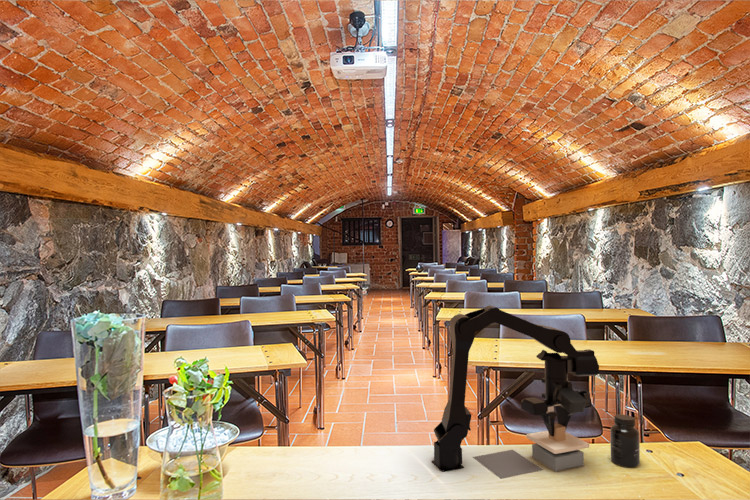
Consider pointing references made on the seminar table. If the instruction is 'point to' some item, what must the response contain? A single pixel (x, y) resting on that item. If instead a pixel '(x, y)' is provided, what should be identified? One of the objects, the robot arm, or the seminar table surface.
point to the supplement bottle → (625, 442)
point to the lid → (558, 440)
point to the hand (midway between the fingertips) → (556, 435)
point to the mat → (507, 464)
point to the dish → (558, 458)
